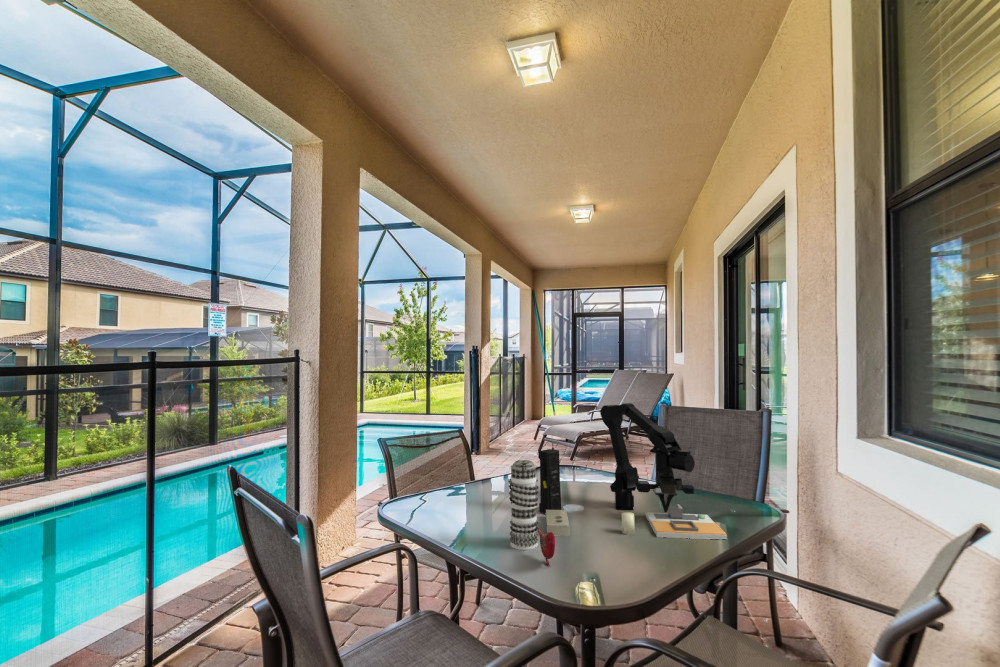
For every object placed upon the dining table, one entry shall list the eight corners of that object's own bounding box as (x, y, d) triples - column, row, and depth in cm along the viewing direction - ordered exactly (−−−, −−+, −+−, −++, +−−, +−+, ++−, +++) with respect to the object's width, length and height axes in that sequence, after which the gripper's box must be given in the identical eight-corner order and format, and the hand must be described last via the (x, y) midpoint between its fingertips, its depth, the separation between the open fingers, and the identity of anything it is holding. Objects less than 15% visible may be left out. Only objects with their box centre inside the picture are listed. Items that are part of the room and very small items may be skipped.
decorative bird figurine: (548, 575, 120) (548, 536, 120) (533, 548, 137) (533, 514, 138) (559, 574, 120) (558, 535, 121) (542, 548, 137) (542, 514, 138)
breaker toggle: (670, 517, 159) (670, 507, 159) (668, 513, 162) (667, 503, 163) (682, 518, 158) (682, 507, 158) (679, 514, 162) (679, 504, 162)
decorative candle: (509, 538, 145) (508, 458, 147) (538, 539, 145) (537, 458, 146) (508, 550, 136) (508, 464, 138) (540, 550, 136) (538, 464, 137)
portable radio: (548, 516, 166) (547, 446, 168) (536, 512, 171) (535, 444, 172) (562, 511, 171) (561, 444, 173) (551, 508, 176) (550, 442, 178)
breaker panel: (657, 537, 146) (656, 528, 146) (645, 516, 165) (645, 509, 166) (726, 540, 143) (726, 531, 143) (707, 518, 162) (706, 511, 163)
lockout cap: (622, 534, 148) (622, 515, 148) (621, 530, 152) (620, 511, 152) (635, 535, 147) (635, 516, 148) (633, 530, 151) (633, 512, 152)
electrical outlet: (565, 507, 165) (569, 524, 147) (566, 519, 165) (569, 537, 147) (545, 507, 165) (546, 524, 148) (546, 518, 165) (547, 537, 147)
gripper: (640, 471, 155) (641, 518, 154) (698, 472, 153) (700, 520, 151) (635, 464, 166) (636, 508, 165) (689, 465, 164) (691, 510, 162)
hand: (665, 512), depth 161 cm, fingers closed
